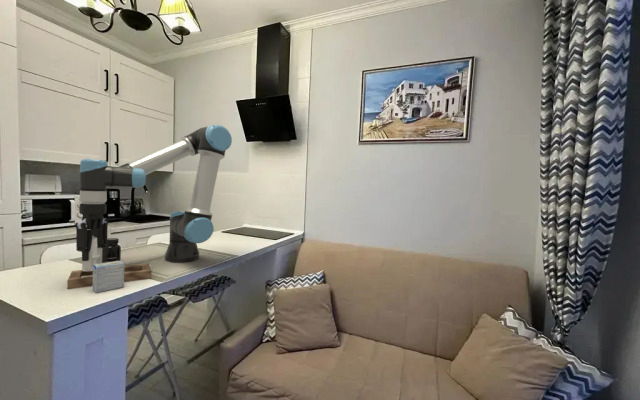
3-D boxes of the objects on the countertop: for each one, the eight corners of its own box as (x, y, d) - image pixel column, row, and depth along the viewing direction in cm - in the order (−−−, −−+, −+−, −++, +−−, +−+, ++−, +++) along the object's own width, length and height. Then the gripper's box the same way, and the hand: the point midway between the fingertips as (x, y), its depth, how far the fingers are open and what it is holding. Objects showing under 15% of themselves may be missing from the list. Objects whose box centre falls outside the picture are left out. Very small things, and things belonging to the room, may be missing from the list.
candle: (93, 266, 104) (93, 234, 103) (105, 268, 103) (105, 235, 102) (78, 270, 98) (78, 237, 98) (91, 272, 97) (91, 238, 97)
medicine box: (120, 284, 100) (120, 260, 99) (124, 287, 97) (124, 262, 96) (92, 289, 93) (92, 264, 93) (95, 293, 91) (96, 267, 90)
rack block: (148, 270, 116) (149, 262, 116) (151, 278, 107) (151, 269, 107) (72, 279, 102) (72, 270, 102) (67, 289, 93) (67, 279, 93)
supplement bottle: (109, 270, 113) (110, 241, 113) (95, 268, 115) (96, 239, 114) (124, 265, 120) (125, 238, 120) (111, 264, 121) (112, 236, 121)
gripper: (99, 200, 108) (98, 260, 109) (61, 204, 90) (61, 274, 91) (119, 201, 108) (118, 261, 110) (86, 205, 91) (85, 275, 92)
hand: (92, 267), depth 101 cm, fingers closed on candle, 4 cm apart
